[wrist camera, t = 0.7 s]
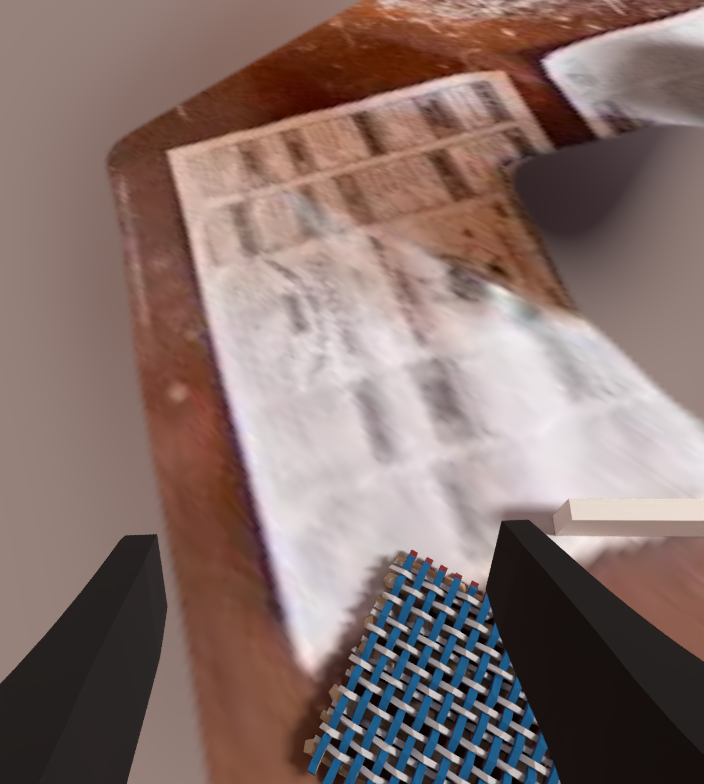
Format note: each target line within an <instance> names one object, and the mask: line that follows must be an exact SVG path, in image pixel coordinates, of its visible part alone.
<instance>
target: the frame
mask: <svg viewBox="0 0 704 784" xmlns="http://www.w3.org/2000/svg"><path fill="white" fill-rule="evenodd" d="M552 517H553V523H554V530H555V536H683V537H704V499H568V500H567V501H566V502H565V503H564V504H563V505H562V507H561V508H560V509H559V510H558V511H557V512H556V513H555V514H554V515H553V516H552Z"/></svg>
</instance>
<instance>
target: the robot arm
mask: <svg viewBox="0 0 704 784" xmlns="http://www.w3.org/2000/svg"><path fill="white" fill-rule="evenodd" d="M486 592H487V595H488V599H489V602H490V606H491V610H492V613H493V616H494V620H495V623H496V626H497V629H498V633H499V636H500V638H501V640H502V643H503V645H504V648H505V650H506V652H507V655H508V657H509V659H510V662H511V664H512V666H513V669H514V671H515V673H516V676H517V678H518V680H519V682H520V685H521V687H522V689H523V692H524V694H525V696H526V698H527V701H528V703H529V705H530V708H531V710H532V712H533V715H534V717H535V719H536V721H537V724H538V726H539V728H540V731H541V733H542V735H543V737H544V740H545V742H546V745H547V747H548V750H549V753H550V755H551V758H552V760H553V763H554V765H555V768H556V771H557V774H558V777H559V780H560V783H561V784H704V661H702V660H701V659H699V658H698V657H696V656H695V655H693V654H692V653H690V652H689V651H688V650H686V649H685V648H683V647H682V646H680V645H679V644H677V643H676V642H675V641H673V640H672V639H671V638H669V637H668V636H667V635H665V634H664V633H662V632H661V631H660V630H659V629H657V628H656V627H655V626H653V625H652V624H651V623H649V622H648V621H647V620H646V619H644V618H643V617H642V616H640V615H639V614H638V613H637V612H635V611H634V610H633V609H631V608H630V607H629V606H628V605H627V604H625V603H624V602H623V601H622V600H620V599H619V598H618V597H617V596H616V595H614V594H613V593H612V592H611V591H610V590H608V589H607V588H606V587H605V586H604V585H602V584H601V583H600V582H599V581H598V580H597V579H595V578H594V577H593V576H592V575H591V574H590V573H589V572H587V571H586V570H585V569H584V568H583V567H582V566H580V565H579V564H578V563H577V562H576V561H575V560H574V559H573V558H571V557H570V556H569V555H568V554H567V553H566V552H565V551H564V550H562V549H561V548H560V547H559V546H558V545H557V544H556V543H555V542H554V541H552V540H551V539H550V538H549V537H548V536H547V535H546V534H545V533H543V532H542V531H541V530H540V529H539V528H538V527H536V526H535V525H534V524H533V523H532V522H531V521H529V520H510V521H502V522H501V526H500V530H499V535H498V539H497V543H496V547H495V551H494V556H493V560H492V564H491V568H490V573H489V577H488V581H487V585H486ZM166 613H167V601H166V594H165V586H164V579H163V572H162V565H161V558H160V551H159V545H158V537H157V534H155V535H154V534H153V535H130V536H129V535H128V536H124V537H123V538H122V539H121V540H120V541H119V542H118V544H117V545H116V547H115V548H114V550H113V551H112V552H111V553H110V555H109V556H108V557H107V559H106V560H105V561H104V563H103V564H102V565H101V567H100V568H99V569H98V571H97V572H96V573H95V575H94V576H93V577H92V579H91V580H90V581H89V582H88V584H87V585H86V586H85V588H84V589H83V590H82V591H81V593H80V594H79V595H78V596H77V598H76V599H75V600H74V601H73V602H72V604H71V605H70V606H69V607H68V608H67V610H66V611H65V612H64V613H63V615H62V616H61V617H60V618H59V619H58V621H57V622H56V623H55V624H54V625H53V626H52V628H51V629H50V630H49V631H48V632H47V633H46V635H45V636H44V637H43V638H42V639H41V640H40V641H39V642H38V643H37V645H36V646H35V647H34V648H33V649H32V650H31V651H30V652H29V654H28V655H27V656H26V657H25V658H24V659H23V660H22V661H21V662H20V663H19V665H18V666H17V667H16V668H15V669H14V670H13V671H12V672H11V673H10V674H9V675H8V676H7V677H6V679H5V680H4V681H2V683H1V684H0V784H127V780H128V776H129V773H130V769H131V765H132V761H133V757H134V754H135V750H136V746H137V743H138V739H139V735H140V731H141V727H142V724H143V720H144V716H145V713H146V709H147V705H148V701H149V697H150V694H151V690H152V686H153V682H154V678H155V674H156V671H157V667H158V663H159V659H160V654H161V647H162V640H163V633H164V627H165V620H166Z"/></svg>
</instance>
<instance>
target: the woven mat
mask: <svg viewBox="0 0 704 784" xmlns="http://www.w3.org/2000/svg"><path fill="white" fill-rule="evenodd" d="M417 554H418V553H417V552H415V551H413V550H411V552H410V554H409V555H408V557H407V558H404V557H402V556H399V555H398V556H397V557H396V559H395V562H394V564H395V565H397V566H399V567H400V568H399V567H397V566H394V565H391V566H390V567H389V568H390V569H391V570H393V571H395V572H398V573H400V574H399V575H397V574H394V573H391V572H389V573H388V574H387V575H386V577H385V578H384V579H383V580H384V582H385V585H386V587H388V588H391V589H392V591H391V593H390V594H388V593H386V592H383V595H382V596H380V595H378V596H377V598H376V600H375V603H374V604H375V605H374V607H376V608H377V609H379V610H380V611H382V612H381V613H380V612H378V611H377V610H375V609H373V608H372V609H371V611H370V613H371V614H372V616H368V617H365V619H364V628H365V629H367V630H368V631H370V632H371V634H370V636H369V638H367V637H365V636H362V639H361V641H362V643H361V644H360V646H359V649H358V648H357V647H356V646H355V647H354V648H353V649H351V650H352V651H353V652H354V653H355V654H356V655H357V656H358V657H357V656H355V655H353V654H351V656H350V657H349V659H350V660H351V661H353V662H355V663H357V664H356V666H354V665H352V666H351V668H350V670H349V669H347V671H346V674H345V675H346V676H348V677H350V679H349V681H348V684H347V686H346V688H345V687H343V686H342V685H340V686H338V685H336V684H334V685H333V687H332V688H331V690H330V691H329V694H330V696H331V698H332V700H333V701H332V703H331V705H332V706H334V707H335V710H333V709H332V708H330V707H329V709H328V711H326V710H323V711H322V713H321V715H320V719H322V720H323V721H324V722H325V723H327V724H328V725H327V724H325V723H324V722H323V723H322V724H321V725H320V727H319V728H321V729H322V730H323V731H325V732H324V734H323V736H322V738H320V737H319V736H317V735H315V738H314V739H309V740H305V746H304V752H305V753H307V754H309V755H311V756H312V757H313V758H312V760H311V763H310V765H309V767H308V770H307V771H308V772H310V773H311V774H313V775H315V773H316V771H317V769H318V767H319V765H320V762H322V763H324V764H325V765H327V766H328V767H330V768H329V770H328V772H327V774H326V776H325V778H324V780H323V783H322V784H333V782H334V780H335V778H336V775H337V773H339V774H340V775H342V776H343V777H345V778H346V780H345V782H344V784H399V781H400V780H402V781H404V782H406V783H408V784H511V782H512V777H513V778H515V779H516V780H517V783H516V784H558V783H559V784H561V783H560V780H559V777H558V774H557V771H556V768H555V765H554V763H553V760H552V758H551V755H550V753H549V750H548V747H547V745H546V742H545V740H544V737H543V735H542V733H541V731H540V728H539V726H538V724H537V721H536V719H535V717H534V715H533V712H532V710H531V708H530V705H529V703H528V701H527V698H526V696H525V694H524V692H522V691H521V689H522V687H521V685H520V682H519V680H518V678H517V676H516V673H515V671H514V669H513V666H512V664H511V662H510V659H509V657H508V655H507V652H506V650H505V648H504V645H503V643H502V640H501V638H500V636H499V633H498V629H497V626H496V623H495V620H493V622H492V624H491V625H490V624H488V623H485V622H484V621H485V620H489V619H491V618H493V619H494V616H493V613H492V610H491V606H490V602H489V599H488V595H487V592H485V595H484V597H483V596H481V595H479V594H478V593H476V592H477V590H478V585H479V584H478V583H476V582H474V581H472V582H471V584H470V586H469V588H468V587H467V586H466V585H464V584H463V583H462V582H461V581H462V580H461V579H462V575H460V574H458V573H456V574H455V576H454V578H450V577H447V576H445V574H446V571H447V569H448V568H446V567H444V566H443V565H441V566H440V568H439V570H438V572H437V573H436V572H434V571H433V570H431V569H430V567H431V564H432V562H433V560H432V559H430V558H428V557H427V558H426V560H425V561H424V563H423V565H421V564H420V563H418V562H415V559H416V557H417ZM411 573H412V574H411ZM413 574H414V575H416V576H417V577H416V576H414V575H413ZM407 578H409V579H410V580H412V581H413V582H414V584H413V585H412V584H411V583H410V582H408V581H407V580H406V579H407ZM424 580H425V581H427V582H425V581H424ZM428 582H429V583H428ZM430 583H431V584H430ZM421 587H425V588H427V589H429V592H428V594H427V593H425V592H423V591H422V590H420V589H421ZM439 588H440V589H439ZM441 589H442V590H445V591H447V593H445V592H444V591H442V590H441ZM400 593H401V594H402V595H404V596H405V597H407V599H406V601H405V602H404V601H402V600H401V599H399V598H398V596H399V595H400ZM436 594H438V595H440V596H441V597H443V598H445V599H444V601H443V602H442V601H440V600H438V599H437V598H435V597H436ZM455 596H457V597H458V598H459V599H461V600H463V602H462V601H460V600H458V599H456V598H455ZM414 602H416V603H418V604H420V605H422V608H421V610H419V609H417V608H415V607H413V604H414ZM452 603H454V604H456V605H458V606H460V607H461V608H460V610H457V609H455V608H454V607H452V606H451V605H452ZM471 605H473V606H475V607H477V608H479V610H478V609H476V608H474V607H472V606H471ZM429 610H431V611H433V612H435V613H437V614H438V615H437V618H436V619H434V618H433V617H431V616H429V615H428V612H429ZM468 612H471V613H473V614H475V615H476V617H475V619H474V618H472V617H471V616H469V615H468ZM373 615H374V616H373ZM375 616H376V617H377V618H378V619H377V618H376V617H375ZM445 619H448V620H450V621H452V622H453V623H454V625H453V627H450V626H448V625H445V624H444V622H445ZM386 623H388V624H390V625H392V626H394V628H392V627H390V626H388V625H386ZM408 627H410V628H412V630H411V629H409V628H408ZM462 627H463V628H465V629H466V630H468V631H470V632H469V634H468V636H466V635H465V634H463V633H462V632H460V630H461V628H462ZM401 631H403V632H404V633H406V634H408V635H409V637H407V636H406V635H404V634H402V633H401ZM419 633H422V634H424V635H426V636H428V638H426V637H424V636H422V635H420V634H419ZM379 637H381V638H382V639H384V640H386V641H387V643H386V645H385V647H383V646H381V645H379V644H377V641H378V639H379ZM478 637H481V638H484V639H485V641H484V643H483V644H481V643H479V642H477V640H478ZM416 640H418V641H420V642H423V643H425V646H423V645H422V644H420V643H418V642H416ZM436 641H437V642H439V643H441V644H443V645H445V646H444V648H443V647H442V646H440V645H438V644H437V643H436ZM495 645H497V646H498V647H499V648H502V649H503V650H502V652H501V654H499V653H498V652H496V651H495V650H493V649H494V647H495ZM394 646H396V647H398V648H400V649H402V650H403V651H402V653H401V656H398V655H397V654H395V653H393V652H392V651H393V649H394ZM433 648H434V649H435V650H437V651H439V652H440V653H441V655H439V654H438V653H436V652H434V651H432V650H433ZM453 650H454V651H456V652H458V653H460V657H458V656H456V655H454V654H453V653H452V651H453ZM410 655H412V656H414V657H416V658H417V659H418V662H417V664H416V665H414V664H412V663H411V662H409V661H408V659H409V657H410ZM449 658H450V659H451V660H450V659H449ZM469 659H470V660H472V661H474V662H476V663H477V666H476V667H475V666H473V665H471V664H469V663H468V662H469ZM452 660H453V661H452ZM370 664H372V665H376V667H374V666H372V665H370ZM427 664H428V665H430V666H431V667H433V668H435V670H434V672H433V675H431V674H430V673H428V672H426V671H425V670H424V669H425V667H426V665H427ZM364 669H367V670H368V671H370V672H372V673H373V674H372V676H371V675H369V674H368V673H366V672H364ZM486 669H488V670H490V671H492V672H494V674H493V677H492V676H491V675H490V674H488V673H487V672H486ZM384 670H385V671H387V672H389V673H390V674H392V676H389V675H388V674H386V673H384V672H383V671H384ZM471 671H472V672H471ZM473 672H474V673H473ZM443 674H446V675H448V676H450V680H449V684H447V683H446V682H444V681H442V680H441V679H442V677H443ZM380 678H382V679H384V680H385V681H387V682H388V685H387V684H385V683H384V682H382V681H380V680H379V679H380ZM483 678H484V679H486V680H487V681H486V680H484V679H483ZM503 678H505V679H507V680H508V681H509V684H507V683H504V682H502V680H503ZM400 679H401V680H403V681H405V682H407V683H408V685H405V684H404V683H402V682H400V681H399V680H400ZM488 681H489V682H490V683H489V682H488ZM358 683H359V684H361V685H363V686H364V687H366V689H365V691H364V693H363V695H362V697H360V696H358V695H357V694H355V693H354V691H355V689H356V686H357V684H358ZM460 683H462V684H463V685H465V686H467V687H468V689H467V692H466V694H464V693H463V692H461V691H459V690H458V687H459V685H460ZM396 687H397V688H399V689H401V690H403V691H404V694H403V693H402V692H400V691H398V690H396ZM416 688H417V689H419V690H420V691H422V692H424V693H425V694H424V695H422V694H421V693H419V692H417V691H416ZM500 688H501V689H500ZM502 689H504V690H506V691H507V692H505V691H504V690H502ZM373 692H374V693H375V694H377V695H378V696H380V697H382V698H381V701H380V703H379V705H378V708H377V707H376V706H374V705H373V704H371V703H370V702H369V701H370V699H371V697H372V695H373ZM478 693H479V694H481V695H483V696H484V697H483V699H482V701H481V703H480V702H478V701H477V700H476V698H477V694H478ZM412 697H415V698H416V699H418V700H419V701H421V703H420V702H419V701H417V700H415V699H413V698H412ZM518 697H519V698H521V699H523V700H525V701H524V702H523V701H521V700H520V699H518ZM433 698H434V699H436V700H437V701H439V702H441V704H440V705H439V704H437V703H436V702H434V701H432V700H433ZM389 703H391V704H393V705H394V706H396V707H397V711H396V713H395V715H394V717H393V716H391V715H389V714H388V713H386V709H387V707H388V705H389ZM496 703H497V704H499V705H500V706H502V708H501V710H500V713H498V712H496V711H494V710H493V707H494V705H495V704H496ZM430 707H431V708H433V709H434V710H436V711H438V712H437V713H436V712H435V711H434V710H432V709H430ZM450 708H451V709H453V710H455V711H456V712H458V715H456V714H454V713H452V712H451V711H449V710H450ZM405 713H407V714H409V715H410V716H412V717H413V718H414V719H413V722H412V725H411V728H410V727H409V726H407V725H406V724H404V723H403V722H402V721H403V719H404V716H405ZM513 713H514V714H516V715H518V716H519V718H518V721H517V723H515V722H513V721H511V720H512V717H513ZM344 714H345V715H347V716H348V717H350V718H351V719H352V720H351V721H350V720H349V719H347V718H346V717H344V716H343V715H344ZM446 717H448V718H449V719H451V720H453V721H454V723H453V722H451V721H449V720H448V719H446ZM467 718H468V719H470V720H472V721H473V722H474V725H473V724H471V723H469V722H468V721H467ZM359 724H361V725H362V726H364V727H366V728H367V729H368V730H365V729H363V728H361V727H360V726H359ZM423 724H425V725H427V726H429V727H430V728H431V729H430V732H429V734H428V737H426V736H424V735H422V734H420V733H419V731H420V729H421V727H422V725H423ZM531 724H534V725H535V726H537V730H536V733H535V734H534V733H533V732H531V731H529V730H528V729H529V728H530V726H531ZM464 728H467V729H468V730H470V731H472V732H471V733H469V732H468V731H466V730H464ZM486 729H487V730H488V731H490V732H492V735H490V734H488V733H487V732H485V730H486ZM375 734H378V735H379V736H381V737H383V738H384V741H382V740H381V739H379V738H378V737H376V736H375ZM440 734H442V735H444V736H445V737H447V738H448V739H447V741H446V743H445V745H444V747H442V746H440V745H439V744H437V742H438V738H439V735H440ZM332 737H334V738H336V739H338V740H340V741H341V743H340V745H339V748H338V750H337V749H336V748H335V747H334V746H332V745H331V744H330V741H331V739H332ZM482 738H483V739H485V740H487V741H488V742H489V744H488V743H486V742H485V741H483V740H481V739H482ZM503 739H504V740H505V741H507V742H509V743H510V744H509V745H507V744H505V743H503V742H502V741H503ZM393 744H395V745H396V746H398V747H400V748H402V750H401V751H400V750H398V749H396V748H394V747H392V745H393ZM458 745H460V746H462V747H464V748H465V752H464V754H463V757H462V758H460V757H458V756H457V755H455V754H454V752H455V750H456V748H457V746H458ZM349 746H350V747H351V748H353V749H354V750H355V751H357V752H358V753H357V755H356V757H355V759H354V758H351V757H349V756H347V755H346V753H347V751H348V748H349ZM500 749H502V750H504V751H505V752H507V753H506V754H505V753H503V752H501V751H500ZM522 751H524V752H526V753H527V756H525V755H524V754H522ZM410 754H411V755H412V756H414V757H415V758H417V759H418V761H416V760H415V759H413V758H411V757H410ZM475 755H477V756H479V757H480V758H482V759H483V761H482V764H481V767H480V769H478V768H477V767H475V766H473V764H474V760H475ZM365 757H366V758H368V759H370V760H372V761H373V762H374V764H373V767H372V769H371V771H370V770H368V769H367V768H366V767H365V766H363V765H362V764H363V762H364V760H365ZM519 760H520V761H519ZM521 761H522V762H524V763H522V762H521ZM541 762H543V763H544V764H546V765H547V767H544V766H542V765H541ZM427 766H429V767H431V768H433V769H435V772H433V771H432V770H430V769H429V768H427ZM494 767H497V768H499V769H500V770H501V771H500V774H499V777H498V779H497V780H496V779H494V778H493V777H491V776H490V775H491V773H492V771H493V769H494ZM383 768H384V769H386V770H387V771H388V772H390V773H391V776H390V779H389V781H388V780H385V779H383V778H381V777H379V775H380V773H381V771H382V769H383ZM538 771H539V772H538ZM540 772H541V773H542V774H541V773H540ZM543 774H544V775H543ZM446 777H447V778H449V779H450V780H452V781H453V782H450V781H448V780H446V779H445V778H446Z"/></svg>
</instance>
